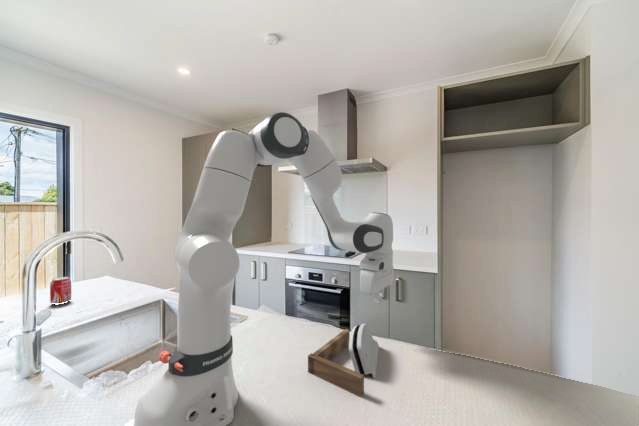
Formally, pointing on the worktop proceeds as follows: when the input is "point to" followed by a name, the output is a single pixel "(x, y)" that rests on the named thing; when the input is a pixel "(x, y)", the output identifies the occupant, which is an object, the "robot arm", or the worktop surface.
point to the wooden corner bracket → (336, 365)
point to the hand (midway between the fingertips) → (378, 301)
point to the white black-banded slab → (363, 350)
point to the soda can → (60, 290)
